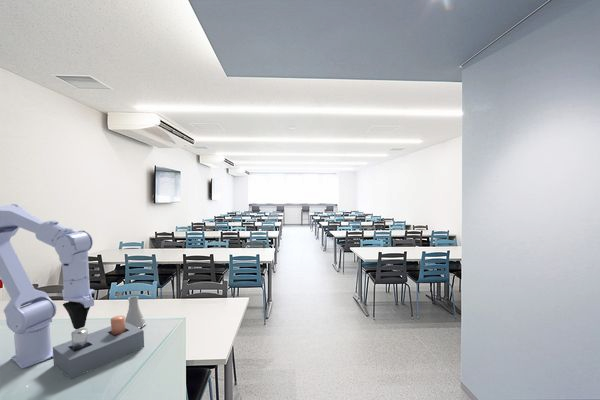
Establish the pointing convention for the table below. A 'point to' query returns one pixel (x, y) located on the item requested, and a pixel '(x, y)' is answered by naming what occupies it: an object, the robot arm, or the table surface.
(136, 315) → the flask
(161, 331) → the table surface
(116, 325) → the terracotta plug
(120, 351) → the plug panel
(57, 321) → the table surface
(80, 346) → the steel plug
